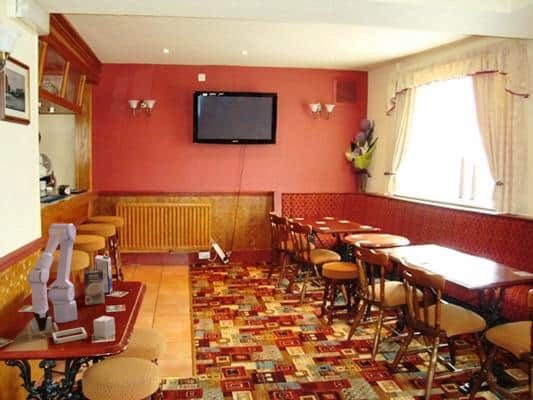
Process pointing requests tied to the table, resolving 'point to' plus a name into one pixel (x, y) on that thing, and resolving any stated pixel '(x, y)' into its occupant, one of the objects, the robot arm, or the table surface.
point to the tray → (71, 338)
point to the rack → (43, 332)
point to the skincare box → (104, 326)
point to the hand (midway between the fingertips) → (42, 329)
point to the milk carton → (105, 271)
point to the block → (36, 329)
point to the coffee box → (94, 287)
